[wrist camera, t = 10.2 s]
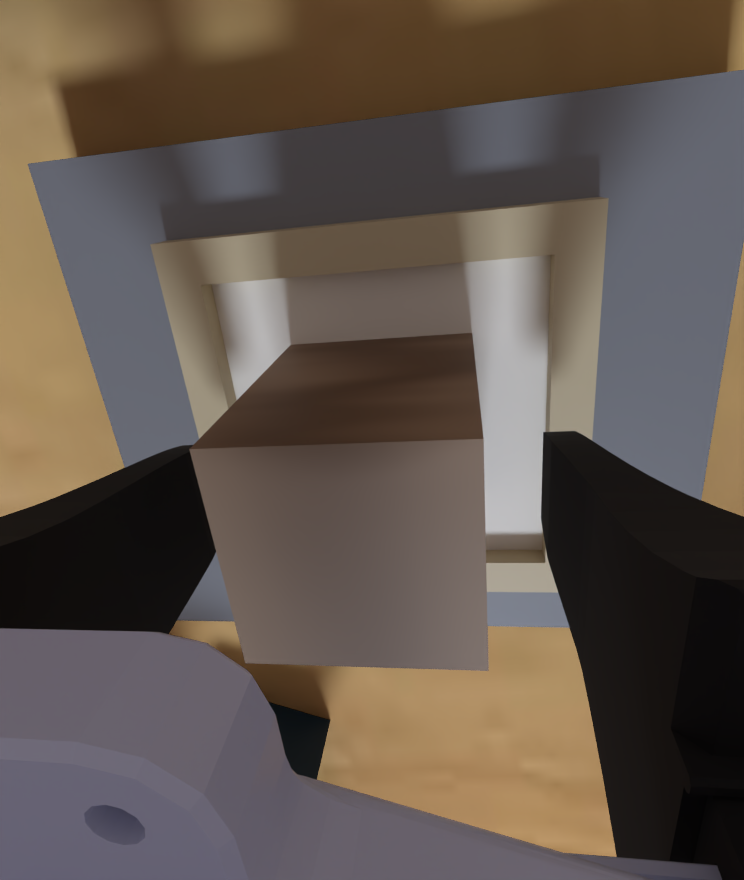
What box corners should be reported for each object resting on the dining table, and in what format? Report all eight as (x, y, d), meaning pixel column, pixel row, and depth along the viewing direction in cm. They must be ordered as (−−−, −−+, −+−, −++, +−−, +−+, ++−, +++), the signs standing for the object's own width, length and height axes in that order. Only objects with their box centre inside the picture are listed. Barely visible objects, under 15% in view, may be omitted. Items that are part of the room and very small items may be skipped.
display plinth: (726, 81, 12) (795, 58, 10) (657, 584, 18) (690, 650, 16) (78, 165, 15) (3, 163, 13) (198, 581, 21) (162, 637, 18)
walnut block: (472, 333, 13) (483, 438, 8) (476, 495, 15) (488, 670, 10) (290, 344, 14) (189, 448, 9) (316, 498, 16) (245, 663, 11)
